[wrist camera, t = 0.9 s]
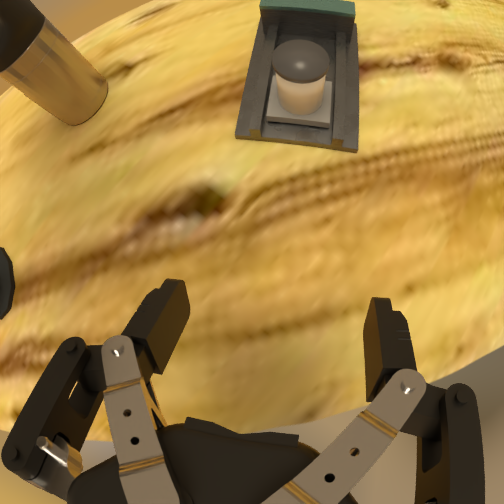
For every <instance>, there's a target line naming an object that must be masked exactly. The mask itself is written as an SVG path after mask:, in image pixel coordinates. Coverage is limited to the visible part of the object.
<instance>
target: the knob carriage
mask: <svg viewBox="0 0 504 504" xmlns="http://www.w3.org/2000/svg"><path fill="white" fill-rule="evenodd" d="M272 63H273V68H274V70H275V72H276V76H273V78H272V84H271V90H270V96H269V102H268V108H267V114H266V117H267V121H272V122H282V123H292V124H301V125H309V126H317V127H324V128H329V125H330V112H331V94H332V82H331V81H325V76H326V73H327V72H328V69H329V56H328V53H327V52H326V51H325V49H324V48H322V47H321V46H320V45H318V44H316V43H314V42H311V41H308V40H290V41H287V42H284V43H282V44H280V45H279V46H278V47H277V48H276V49H275V50H274V52H273V54H272Z"/></svg>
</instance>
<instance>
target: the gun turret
mask: <svg viewBox="0 0 504 504" xmlns="http://www.w3.org/2000/svg"><path fill="white" fill-rule="evenodd" d="M14 290H15V281H14V274H13V265H12V261H11V260H10V258H9V256H8V255H7V253H6V251H5V249H4V248H2V247H0V319H3V317H4V316H5V315H6V314H7V313H8V312H9V310H10V309H11V307H12V301H13V295H14Z"/></svg>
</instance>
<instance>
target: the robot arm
mask: <svg viewBox="0 0 504 504" xmlns="http://www.w3.org/2000/svg"><path fill="white" fill-rule="evenodd" d="M0 77H1V78H3V79H4V80H5V81H7V82H8V83H10V84H11V85H13V86H14V87H16V88H17V89H18V90H20V91H21V92H23V93H24V95H25V96H27V97H28V98H29V99H31V100H32V101H34V102H35V103H37V104H38V105H39V106H41V107H42V108H44V109H45V110H47V111H48V112H49V113H51V114H52V115H54V116H55V117H57V118H58V119H61V120H62V121H64V122H65V123H67V124H68V125H77V124H80V123H82V122H84V121H86V120H87V119H89V118H90V117H91V116H92V115H93V114H94V113H95V112H96V111H97V110H98V109H99V108H100V106H101V105H102V103H103V102H104V99H105V97H106V94H107V90H108V85H107V82H106V80H105V79H104V78H103V77H102V76H101V75H100V74H99V73H98V71H97V70H96V69H95V68H94V67H93V66H92V65H91V64H90V63H89V62H88V61H87V60H86V59H85V58H84V57H83V56H82V55H81V53H80V52H79V51H78V50H77V49H76V48H75V47H74V46H73V45H72V44H71V43H70V42H69V41H68V40H67V39H66V38H65V37H64V36H63V35H62V34H61V33H60V32H59V31H58V30H57V29H56V28H55V27H54V25H52V23H51V22H50V21H49V20H48V19H47V18H46V17H45V16H44V15H43V14H42V13H41V12H40V11H39V10H38V9H37V8H36V7H35V5H34V4H33V3H32V2H31V1H30V0H0ZM189 315H190V304H189V299H188V295H187V290H186V286H185V282H184V281H183V280H177V279H166V280H165V281H164V282H163V284H162V285H161V287H160V289H157V288H155V289H154V290H153V291H151V292H150V293H149V294H147V295H146V297H145V298H144V300H143V301H142V303H141V305H140V306H139V307H138V309H137V312H135V314H134V315H133V317H132V318H131V320H130V321H129V323H128V324H127V326H126V328H125V329H124V331H123V332H122V334H121V335H117V336H113V337H111V338H109V339H108V340H107V341H106V342H105V343H104V344H103V345H90V346H87V345H86V343H85V342H84V340H83V339H82V338H80V337H71V338H68V339H66V340H65V341H64V342H63V343H62V344H61V345H60V346H59V348H58V350H57V351H56V353H55V354H54V356H53V358H52V359H51V361H50V362H49V364H48V366H47V367H46V369H45V371H44V372H43V374H42V376H41V377H40V379H39V381H38V382H37V384H36V386H35V387H34V389H33V391H32V393H31V394H30V396H29V398H28V400H27V402H26V403H25V405H24V407H23V409H22V411H21V413H20V415H19V416H18V418H17V420H16V422H15V424H14V426H13V428H12V430H11V432H10V434H9V436H8V438H7V440H6V442H5V444H4V446H3V449H2V453H1V457H2V462H3V464H4V465H5V467H6V468H7V469H8V470H10V471H12V472H13V473H15V474H16V475H18V476H19V477H20V478H22V479H23V480H25V481H27V482H28V483H30V484H32V485H34V486H36V487H37V488H40V489H43V490H45V491H47V492H49V493H51V494H54V495H56V496H58V497H59V498H61V499H63V500H65V501H67V504H358V503H357V501H356V500H355V499H354V497H353V496H352V495H351V493H350V490H351V489H352V488H353V487H354V486H355V485H356V484H357V483H358V482H359V481H360V480H361V478H362V477H363V476H364V475H365V474H366V473H367V472H368V471H369V469H370V468H371V467H372V466H373V465H374V463H375V462H376V461H377V460H378V459H379V457H380V456H381V455H382V454H383V452H384V451H385V450H386V449H387V447H388V446H389V445H390V443H391V442H392V441H393V439H394V438H395V437H396V435H397V433H398V432H399V431H401V432H404V433H408V434H411V435H415V436H417V471H416V491H415V503H414V504H485V474H484V457H483V445H482V436H481V427H480V420H479V413H478V406H477V400H476V396H475V394H474V392H473V390H472V389H471V388H470V387H469V386H467V385H465V384H462V383H457V384H453V385H451V386H450V387H449V388H448V389H447V390H446V389H443V388H439V387H435V386H432V385H430V384H428V383H426V382H425V379H424V377H423V376H422V375H421V374H420V373H419V372H417V368H416V362H415V357H414V352H413V347H412V342H411V337H410V332H409V328H408V323H407V320H406V318H405V317H404V316H403V314H402V313H401V312H400V311H393V310H392V305H391V301H390V298H378V297H372V299H371V301H370V305H369V309H368V313H367V316H366V320H365V323H364V330H363V342H364V357H365V376H366V402H372V403H371V404H370V405H369V406H368V407H367V408H366V410H365V411H362V412H361V413H360V414H359V415H358V416H357V417H356V418H355V419H354V420H353V421H352V422H351V423H350V424H349V426H348V427H347V428H346V429H345V430H344V431H343V432H342V433H341V434H340V435H339V436H338V437H337V438H336V439H335V440H334V441H333V442H332V443H331V444H330V445H329V446H328V447H327V448H326V449H325V450H324V451H323V452H322V453H321V454H320V453H319V452H318V451H316V450H315V449H313V448H312V447H310V446H308V445H306V444H304V443H301V442H298V439H299V435H294V434H285V433H276V432H263V433H251V434H238V433H236V432H233V431H231V430H229V429H226V428H224V427H222V426H220V425H218V424H215V423H213V422H209V421H204V420H199V419H195V418H191V417H187V418H186V421H185V423H180V424H173V425H169V426H168V425H167V423H166V421H165V419H164V417H163V415H162V412H161V409H160V406H159V403H158V400H157V397H156V394H155V391H154V388H153V385H152V382H151V379H150V378H151V376H152V374H153V373H156V374H160V375H162V374H163V372H164V369H165V367H166V365H167V363H168V361H169V359H170V357H171V355H172V352H173V350H174V348H175V346H176V344H177V342H178V340H179V338H180V336H181V333H182V331H183V329H184V327H185V325H186V323H187V321H188V319H189ZM76 382H78V383H77V385H76V387H75V388H74V390H73V392H72V394H71V396H70V398H69V395H70V393H71V391H72V389H73V387H74V385H75V383H76ZM103 398H104V401H105V407H106V412H107V417H108V421H109V426H110V430H111V435H112V439H113V443H114V447H115V451H116V455H115V456H113V457H111V458H109V459H107V460H105V461H104V462H102V463H100V464H98V465H96V466H94V467H92V468H91V469H89V470H87V471H85V472H83V473H81V472H82V471H83V465H82V457H81V455H80V450H81V448H82V445H83V443H84V441H85V439H86V436H87V434H88V432H89V429H90V427H91V425H92V423H93V420H94V418H95V416H96V414H97V411H98V409H99V407H100V405H101V403H102V401H103Z"/></svg>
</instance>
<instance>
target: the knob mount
mask: <svg viewBox="0 0 504 504" xmlns="http://www.w3.org/2000/svg"><path fill="white" fill-rule="evenodd" d="M259 7H260V13H261V17H260V22H259V26H258V30H257V34H256V38H255V43H254V47H253V51H252V56H251V60H250V64H249V69H248V73H247V78H246V83H245V87H244V92H243V97H242V101H241V106H240V111H239V116H238V121H237V126H236V131H235V137H236V139H247V140H260V141H270V142H280V143H289V144H298V145H306V146H314V147H321V148H328V149H334V150H341V151H347V152H353V153H357V151H358V133H359V67H358V43H357V27H356V23H354V20H355V4H354V2H349V1H343V0H261V2H260V5H259ZM290 40H308V41H311V42H314V43H316V44H318V45H320V46H321V47H322V48H324V49H325V51H326V52H327V53H328V56H329V69H328V72H327V73H326V76H325V81H331V82H332V94H331V112H330V125H329V128H324V127H317V126H309V125H301V124H292V123H282V122H272V121H267V117H266V114H267V108H268V102H269V96H270V90H271V84H272V78H273V76H276V72H275V70H274V68H273V63H272V54H273V52H274V50H275V49H276V48H277V47H278V46H279V45H280V44H282V43H284V42H287V41H290Z"/></svg>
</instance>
